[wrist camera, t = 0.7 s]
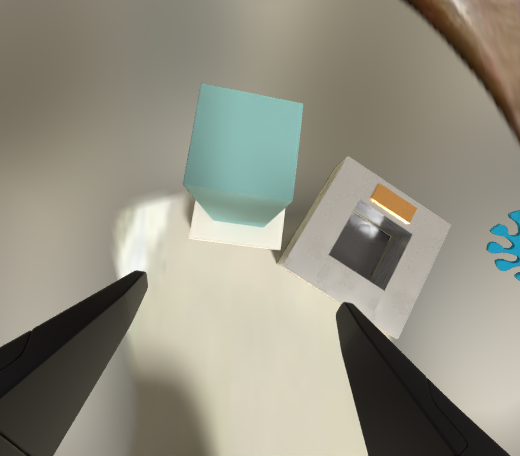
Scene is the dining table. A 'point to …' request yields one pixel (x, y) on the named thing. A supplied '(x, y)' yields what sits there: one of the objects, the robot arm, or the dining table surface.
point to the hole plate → (366, 245)
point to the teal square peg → (243, 155)
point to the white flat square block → (236, 231)
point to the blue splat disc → (517, 248)
